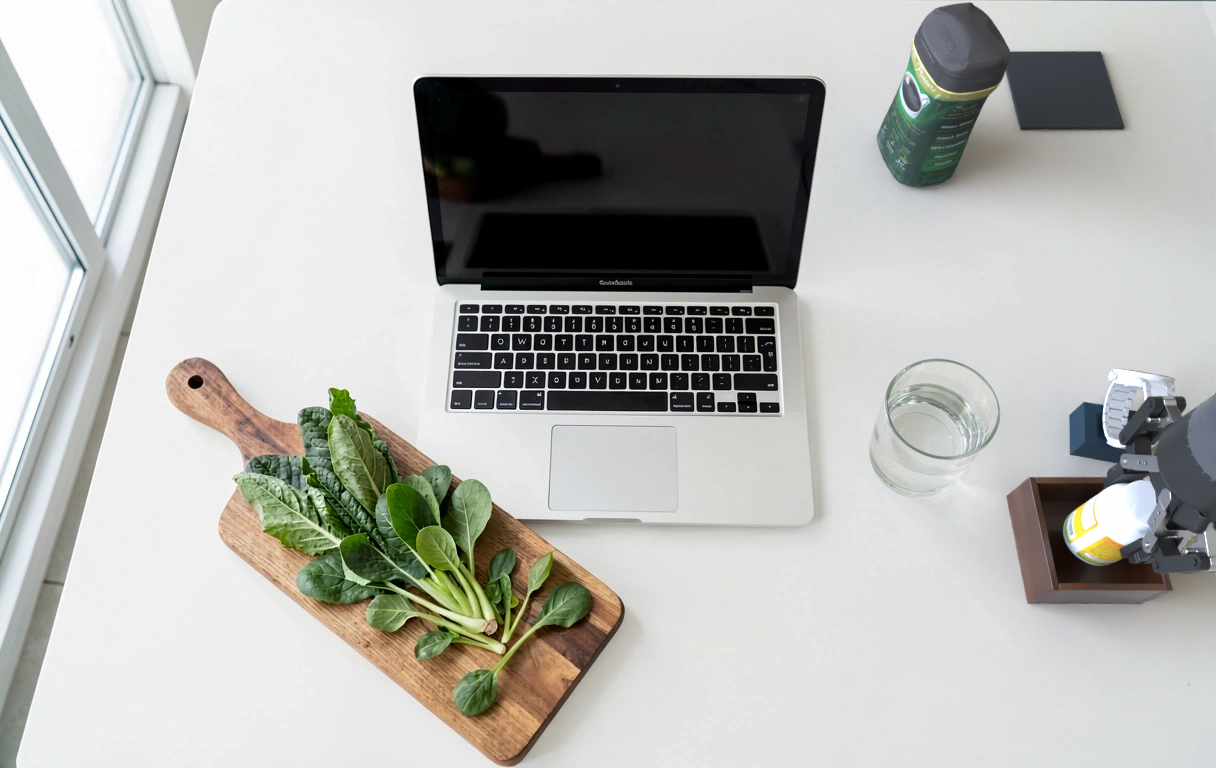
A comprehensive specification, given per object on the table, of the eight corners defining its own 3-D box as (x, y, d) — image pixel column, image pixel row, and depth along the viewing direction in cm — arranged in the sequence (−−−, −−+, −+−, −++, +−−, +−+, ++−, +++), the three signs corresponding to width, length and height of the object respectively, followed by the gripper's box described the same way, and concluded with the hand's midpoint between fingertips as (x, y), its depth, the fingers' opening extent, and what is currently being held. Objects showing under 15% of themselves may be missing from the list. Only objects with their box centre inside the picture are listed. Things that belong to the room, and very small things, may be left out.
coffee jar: (962, 182, 102) (1031, 57, 85) (897, 196, 101) (952, 73, 85) (929, 119, 106) (988, -13, 90) (866, 131, 105) (913, 1, 89)
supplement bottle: (1136, 549, 80) (1199, 517, 71) (1088, 577, 79) (1146, 547, 70) (1096, 498, 82) (1152, 460, 73) (1048, 524, 81) (1100, 489, 72)
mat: (1099, 53, 111) (1100, 51, 110) (1123, 129, 105) (1125, 127, 105) (1001, 53, 111) (1002, 51, 110) (1020, 129, 105) (1021, 127, 105)
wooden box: (1113, 496, 86) (1142, 477, 81) (1140, 604, 81) (1173, 590, 77) (1006, 496, 86) (1029, 476, 81) (1027, 603, 81) (1053, 590, 77)
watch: (1126, 407, 90) (1189, 356, 80) (1129, 482, 86) (1195, 438, 76) (1068, 397, 90) (1123, 344, 80) (1069, 471, 87) (1127, 426, 77)
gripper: (1342, 548, 57) (1191, 605, 72) (1271, 348, 63) (1145, 439, 79) (1223, 549, 57) (1097, 605, 73) (1163, 348, 64) (1059, 439, 79)
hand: (1122, 518), depth 76 cm, fingers closed on supplement bottle, 5 cm apart
